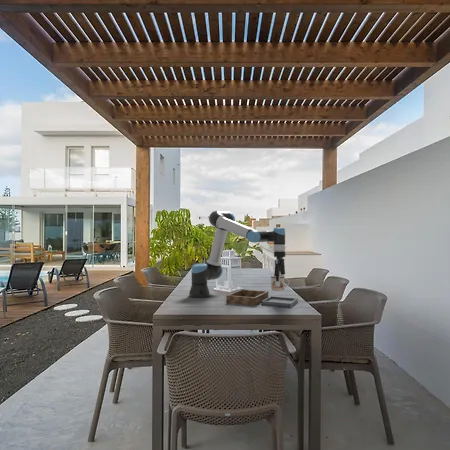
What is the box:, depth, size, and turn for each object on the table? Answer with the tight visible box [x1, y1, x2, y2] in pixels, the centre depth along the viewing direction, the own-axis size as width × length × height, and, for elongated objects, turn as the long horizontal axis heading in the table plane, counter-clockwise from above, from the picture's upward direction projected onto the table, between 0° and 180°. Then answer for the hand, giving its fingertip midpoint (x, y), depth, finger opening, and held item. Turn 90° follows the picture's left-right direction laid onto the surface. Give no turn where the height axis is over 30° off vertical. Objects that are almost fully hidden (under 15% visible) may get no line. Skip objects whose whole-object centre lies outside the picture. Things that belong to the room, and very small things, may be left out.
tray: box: [260, 295, 299, 309], centre depth 226 cm, size 19×19×2 cm
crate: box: [225, 289, 269, 306], centre depth 235 cm, size 20×26×5 cm
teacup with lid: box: [270, 274, 290, 292], centre depth 226 cm, size 12×9×12 cm
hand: (279, 285), depth 226 cm, fingers closed on teacup with lid, 9 cm apart
